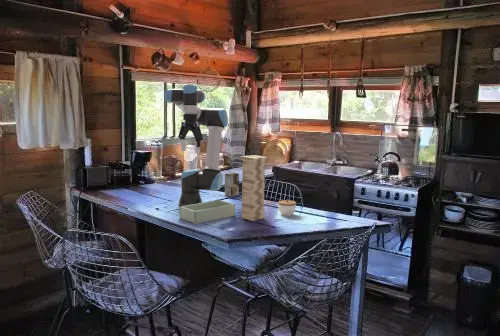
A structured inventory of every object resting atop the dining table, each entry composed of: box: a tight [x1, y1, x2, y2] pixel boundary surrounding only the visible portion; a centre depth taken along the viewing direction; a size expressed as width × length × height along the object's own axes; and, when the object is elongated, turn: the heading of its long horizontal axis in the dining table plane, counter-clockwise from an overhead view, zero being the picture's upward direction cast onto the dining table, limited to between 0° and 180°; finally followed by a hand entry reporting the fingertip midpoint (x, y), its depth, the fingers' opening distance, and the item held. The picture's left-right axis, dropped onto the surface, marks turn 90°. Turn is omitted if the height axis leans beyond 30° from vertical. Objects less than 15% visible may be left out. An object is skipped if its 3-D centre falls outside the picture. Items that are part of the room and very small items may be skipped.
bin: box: [179, 199, 236, 225], centre depth 240 cm, size 29×15×7 cm, turn 133°
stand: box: [238, 154, 270, 222], centre depth 238 cm, size 12×12×36 cm
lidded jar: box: [278, 199, 297, 217], centre depth 250 cm, size 11×11×9 cm
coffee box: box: [224, 172, 240, 197], centre depth 303 cm, size 9×6×16 cm
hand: (190, 152), depth 228 cm, fingers open, 13 cm apart
